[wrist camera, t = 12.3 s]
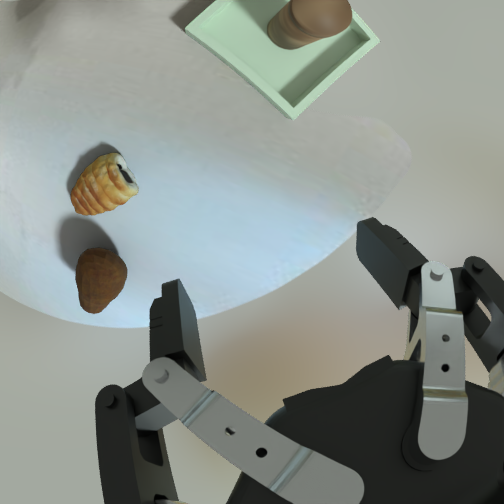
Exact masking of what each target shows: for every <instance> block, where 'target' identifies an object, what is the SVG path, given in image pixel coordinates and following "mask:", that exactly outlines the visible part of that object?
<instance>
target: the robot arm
mask: <svg viewBox="0 0 504 504" xmlns="http://www.w3.org/2000/svg"><path fill="white" fill-rule="evenodd" d="M356 251H357V255H358V258H359V260H360V261H361V263H362V264H363V265H364V266H365V268H366V269H367V270H368V271H369V272H370V274H371V275H372V276H373V278H374V279H375V280H376V281H377V283H378V284H379V285H380V286H381V288H382V289H383V290H384V291H385V293H386V294H387V295H388V296H389V298H390V299H391V300H392V302H393V303H394V304H395V306H396V307H397V308H398V309H399V310H400V309H402V308H404V307H406V306H408V307H409V309H410V310H409V315H408V330H407V344H406V351H405V355H404V358H403V360H395V361H392V359H391V357H390V356H389V355H387V356H385V357H383V358H381V359H379V360H377V361H375V362H373V363H371V364H369V365H367V366H365V367H364V368H362V369H361V370H360V371H359V372H357V373H356V374H355V375H354V376H353V377H351V378H350V379H348V380H347V381H346V382H345V383H343V384H341V385H336V386H330V387H323V388H316V389H310V390H307V391H305V392H302V393H299V394H297V395H294V396H291V397H288V398H285V399H283V402H284V405H285V406H284V407H282V408H280V409H279V410H277V411H276V412H275V413H273V414H272V415H271V417H269V418H268V420H267V421H266V422H265V423H262V422H260V421H259V420H257V419H256V418H254V417H253V416H251V415H250V414H248V413H247V412H245V411H243V410H242V409H241V408H239V407H238V406H236V405H235V404H233V403H232V402H230V401H229V400H228V399H226V398H225V397H223V396H222V395H221V394H219V393H217V392H216V391H211V390H210V389H208V388H207V387H206V386H204V385H203V384H202V383H200V382H202V381H206V380H207V379H206V374H205V368H204V363H203V357H202V352H201V345H200V339H199V333H198V327H197V319H196V314H195V310H194V307H193V305H192V302H191V300H190V298H189V296H188V294H187V293H186V291H185V289H184V287H183V285H182V283H181V281H180V279H176V280H173V281H170V282H166V283H163V284H162V297H160V298H156V299H154V301H153V303H152V306H151V308H150V363H149V364H148V365H147V366H146V367H145V369H144V371H143V375H142V377H141V378H140V379H139V380H137V381H136V382H134V383H132V384H130V385H129V386H127V387H125V388H123V389H122V388H121V387H120V386H118V385H108V386H106V387H104V388H103V389H101V391H100V392H99V393H98V395H97V397H96V401H95V415H96V437H97V450H98V460H99V470H100V478H101V485H102V491H103V497H104V503H105V504H187V503H185V502H181V501H179V500H178V497H177V492H176V489H175V484H174V480H173V476H172V472H171V468H170V464H169V459H168V454H167V450H166V445H165V440H164V435H163V429H162V427H164V426H166V425H168V424H170V423H171V422H173V421H175V420H177V419H179V420H180V421H181V422H182V423H183V424H184V425H185V426H186V427H187V428H188V429H189V430H190V431H191V432H193V433H194V434H195V435H196V436H197V437H199V438H200V439H201V440H202V441H203V442H205V443H206V444H207V445H208V446H210V447H211V448H212V449H213V450H215V451H216V452H217V453H219V454H220V455H221V456H222V457H224V458H225V459H226V460H228V461H229V462H230V463H232V464H233V465H235V466H236V467H237V468H239V469H240V470H242V472H241V474H240V476H239V478H238V481H237V482H236V485H235V487H234V489H233V491H232V493H231V495H230V497H229V499H228V501H227V503H226V504H504V281H503V280H502V278H501V277H500V276H499V275H498V274H497V273H496V272H495V271H494V270H493V268H492V267H491V266H490V265H489V264H488V263H487V262H486V261H485V260H483V259H481V258H479V257H476V256H471V257H468V258H467V259H466V260H465V262H464V265H463V267H458V268H451V269H449V268H448V267H447V266H446V265H444V264H443V263H440V262H436V261H430V262H429V261H428V260H427V259H426V258H425V257H424V256H423V255H422V254H421V253H420V252H419V251H418V250H417V249H416V248H415V247H414V246H413V245H412V244H411V243H409V242H408V240H407V239H406V238H405V237H404V238H403V236H402V235H401V234H400V233H399V232H398V231H397V230H396V229H394V228H392V227H390V226H388V225H382V224H381V223H380V222H379V221H378V220H377V219H376V218H373V217H372V218H369V219H366V220H362V221H359V222H358V224H357V242H356ZM479 299H480V300H481V301H482V303H483V304H484V305H485V306H486V307H487V309H488V310H489V312H490V313H491V316H492V320H491V322H490V320H489V319H488V317H487V316H486V315H485V313H484V312H483V311H482V310H481V308H480V307H479V306H478V304H477V302H478V300H479ZM464 335H465V336H466V338H467V339H468V341H469V342H470V344H471V345H472V347H473V348H474V350H475V351H476V353H477V354H478V356H479V358H480V359H481V361H482V362H483V364H484V366H485V367H486V369H487V371H488V372H489V381H490V382H489V383H488V388H485V387H482V386H479V385H476V384H474V383H471V382H469V381H466V380H465V339H464Z"/></svg>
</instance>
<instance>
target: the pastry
mask: <svg viewBox="0 0 504 504" xmlns="http://www.w3.org/2000/svg"><path fill="white" fill-rule="evenodd" d="M138 189H139V188H138V186H137V184H136V179H135V177H134V175H133V174H132V173H131V171H130V170H129V169H128V168H127V166H126V162H125V160H124V158H123V157H122V156H121V155H120V154H118V153H110V154H107V155H102V156H99V157H98V158H97V159H96V160H95V161H94V162H93V163H91V164H90V165H89V166H88V167H86V168H85V170H84V172H83V173H82V174H81V175H80V178H79V179H78V180H77V183H76V185H75V186H74V188H73V189H72V191H71V202H72V204H73V206H74V208H75V211H76V213H78V214H82V215H96V214H99V213H104V212H105V211H111V210H114V209H115V208H116V207H117V206H118V205H123V204H125V203H126V202H127V201H128V200H129V199H130V198H131V197H132V196H134V195H136V194H137V193H138Z"/></svg>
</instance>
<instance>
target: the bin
mask: <svg viewBox="0 0 504 504" xmlns="http://www.w3.org/2000/svg"><path fill="white" fill-rule="evenodd" d="M289 1H290V0H216V1H215V2H213V3H212V4H211V5H210V6H209V7H207V8H206V9H205V10H204V11H203V12H202V13H201V14H200V15H198V16H197V17H196V18H195V19H194V20H193V21H192V22H191V23H190V24H189V25H188V26H187V27H186V28H185V31H186V34H187V35H188V36H190V37H191V38H193V39H194V40H195V41H197V42H198V43H199V44H201V45H202V46H203V47H205V48H206V49H207V50H209V51H210V52H211V53H213V54H214V55H215V56H217V57H218V58H219V59H220V60H222V61H223V62H224V63H225V64H227V65H228V66H229V67H230V68H231V69H233V70H234V71H235V72H236V73H237V74H239V75H240V76H241V77H242V78H243V79H245V80H246V81H247V82H248V83H249V84H250V85H252V86H253V87H254V88H255V89H256V90H257V91H258V92H259V93H261V94H262V95H263V96H264V97H265V98H266V99H267V100H268V101H269V102H270V103H271V104H273V105H274V106H275V107H276V108H277V109H278V110H279V111H280V112H281V113H282V114H283V115H284V116H285V117H286V118H288V119H291V120H295V119H296V118H297V117H298V116H299V115H300V114H301V113H302V112H303V111H304V110H305V109H306V108H307V107H308V106H309V105H310V104H311V103H312V102H313V101H314V100H315V99H316V98H317V97H318V96H319V95H321V94H322V93H323V92H324V91H325V90H326V89H327V88H328V87H329V86H330V85H331V84H332V83H333V82H335V81H336V80H337V79H338V78H339V77H340V76H341V75H342V74H343V73H344V72H346V70H348V69H349V68H350V67H351V66H352V65H353V64H355V63H356V62H357V61H358V60H359V59H360V58H361V57H362V56H364V55H365V54H366V53H367V52H368V51H370V50H371V49H372V48H373V47H374V46H375V45H377V44H378V43H379V42H380V40H379V39H378V38H377V36H376V35H375V34H374V33H373V32H372V30H371V29H370V28H369V27H368V26H367V25H366V23H365V22H364V21H363V20H362V19H361V18H360V17H359V16H358V15H357V13H356V12H355V11H354V10H353V9H352V8H351V9H352V21H351V23H350V25H349V26H348V28H347V29H345V30H344V31H342V32H340V33H339V34H337V35H334V36H332V37H328V38H323V39H321V40H318V41H315V42H313V43H310V44H308V45H305V46H303V47H301V48H298V49H295V50H286V49H283V48H280V47H278V46H276V45H275V44H274V43H273V42H272V41H271V40H270V38H269V36H268V33H267V26H268V23H269V21H270V20H271V19H272V18H273V17H274V16H275V15H276V14H277V13H278V12H279V11H280V10H281V9H282V8H283V7H284V6H285V5H286V4H287V3H288V2H289Z"/></svg>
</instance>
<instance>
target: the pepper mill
mask: <svg viewBox="0 0 504 504" xmlns="http://www.w3.org/2000/svg"><path fill="white" fill-rule="evenodd" d="M351 21H352V9H351V6H350V4H349V2H348V1H347V0H290V1H289V2H288V3H287V4H286V5H285V6H284V7H283V8H282V9H281V10H280V11H279V12H278V13H277V14H276V15H275V16H274V17H273V18H272V19H271V20H270V21H269V23H268V26H267V33H268V36H269V38H270V40H271V41H272V42H273V43H274V44H275V45H276V46H278V47H280V48H283V49H286V50H295V49H298V48H301V47H303V46H305V45H308V44H310V43H313V42H315V41H318V40H321V39H323V38H328V37H332V36H334V35H337V34H339V33H340V32H342V31H344V30H345V29H347V28H348V26H349V25H350V23H351Z"/></svg>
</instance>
